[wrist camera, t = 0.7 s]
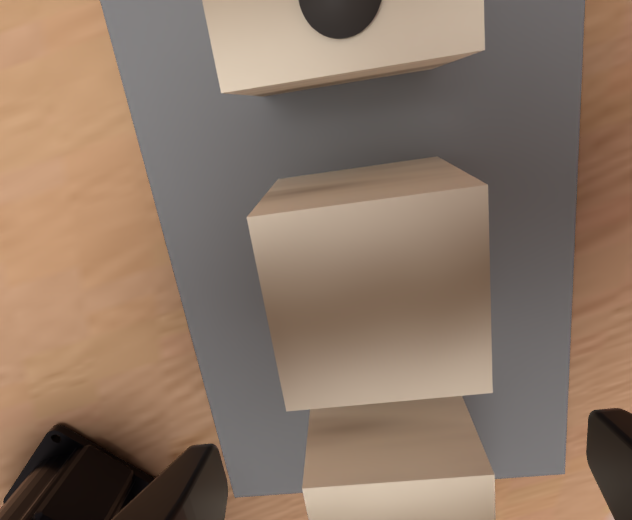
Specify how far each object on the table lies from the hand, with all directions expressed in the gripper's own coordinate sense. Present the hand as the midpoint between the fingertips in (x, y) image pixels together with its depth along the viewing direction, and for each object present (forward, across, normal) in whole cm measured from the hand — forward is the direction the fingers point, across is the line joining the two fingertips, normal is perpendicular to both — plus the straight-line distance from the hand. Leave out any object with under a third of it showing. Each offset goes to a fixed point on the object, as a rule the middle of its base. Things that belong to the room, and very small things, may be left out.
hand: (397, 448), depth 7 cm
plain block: (+11, 0, 0) cm, 11 cm away
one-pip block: (+11, 0, +9) cm, 14 cm away
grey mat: (+12, 0, 0) cm, 12 cm away
